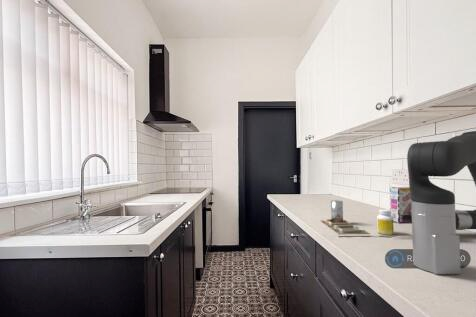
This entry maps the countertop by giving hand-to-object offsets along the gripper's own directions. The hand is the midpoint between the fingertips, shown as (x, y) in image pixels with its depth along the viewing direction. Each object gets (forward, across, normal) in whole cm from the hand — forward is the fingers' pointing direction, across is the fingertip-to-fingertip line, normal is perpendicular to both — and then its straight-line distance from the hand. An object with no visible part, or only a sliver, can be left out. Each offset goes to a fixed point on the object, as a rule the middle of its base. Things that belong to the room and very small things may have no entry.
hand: (409, 220), depth 97 cm
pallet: (+21, -11, +6) cm, 25 cm away
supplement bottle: (+9, 0, +6) cm, 11 cm away
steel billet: (+21, -17, +5) cm, 28 cm away
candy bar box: (-13, -24, +6) cm, 28 cm away
